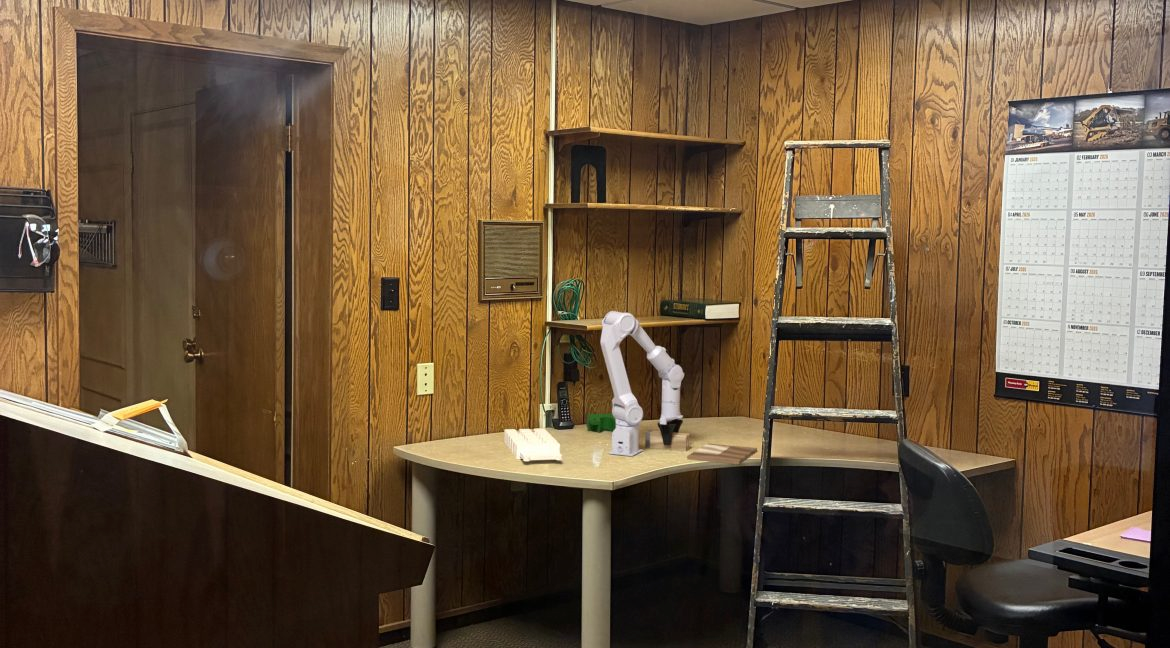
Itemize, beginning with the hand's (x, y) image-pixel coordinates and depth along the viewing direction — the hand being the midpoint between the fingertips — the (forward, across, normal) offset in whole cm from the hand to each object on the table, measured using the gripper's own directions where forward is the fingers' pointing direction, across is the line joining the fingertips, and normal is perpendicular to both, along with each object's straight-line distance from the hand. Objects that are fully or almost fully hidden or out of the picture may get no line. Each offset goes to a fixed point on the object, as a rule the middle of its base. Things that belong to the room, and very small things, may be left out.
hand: (669, 443), depth 325 cm
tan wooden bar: (+2, 0, 0) cm, 2 cm away
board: (+2, -2, -18) cm, 18 cm away
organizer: (+2, -27, +35) cm, 44 cm away
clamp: (+2, +18, +30) cm, 35 cm away
